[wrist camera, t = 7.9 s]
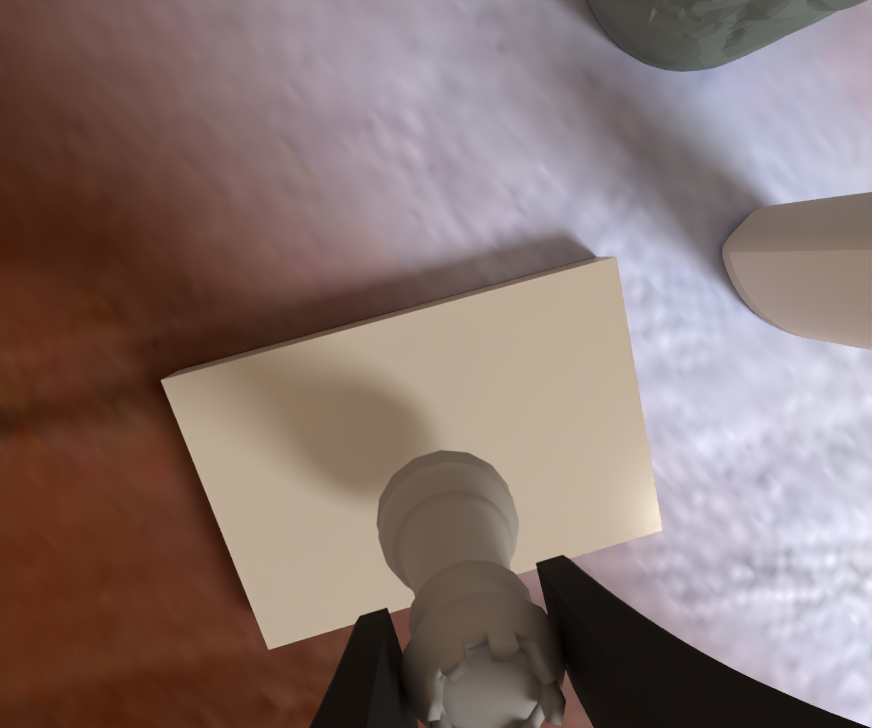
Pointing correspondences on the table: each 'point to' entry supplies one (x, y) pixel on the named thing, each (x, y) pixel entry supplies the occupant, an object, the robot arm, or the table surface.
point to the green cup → (705, 27)
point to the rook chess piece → (467, 599)
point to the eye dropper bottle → (808, 267)
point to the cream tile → (420, 437)
